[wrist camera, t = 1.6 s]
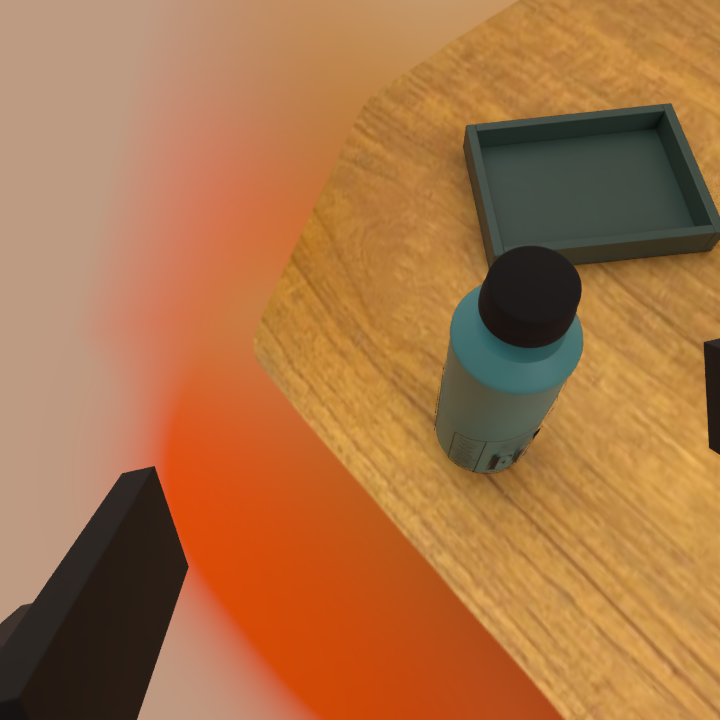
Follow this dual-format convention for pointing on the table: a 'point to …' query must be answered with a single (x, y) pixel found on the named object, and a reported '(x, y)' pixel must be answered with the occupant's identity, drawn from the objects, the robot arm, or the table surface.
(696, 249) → the tray
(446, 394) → the beverage bottle
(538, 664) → the table surface
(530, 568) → the table surface
